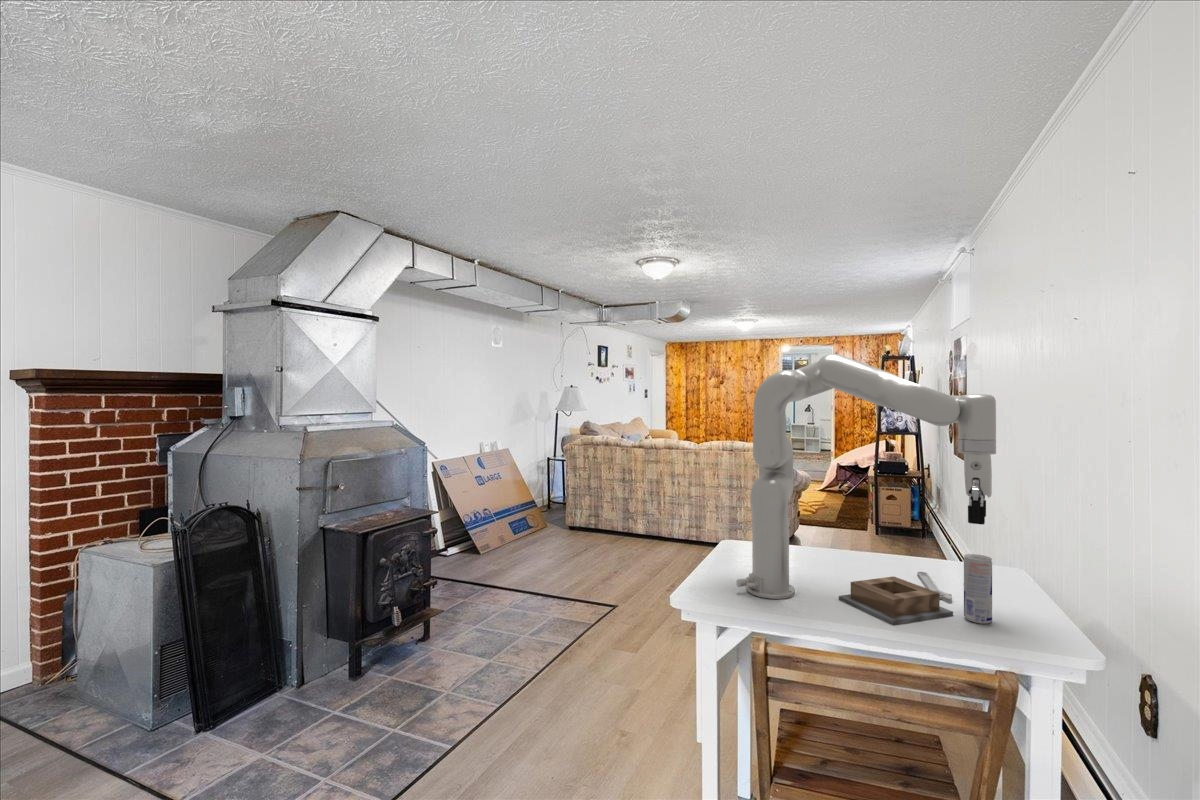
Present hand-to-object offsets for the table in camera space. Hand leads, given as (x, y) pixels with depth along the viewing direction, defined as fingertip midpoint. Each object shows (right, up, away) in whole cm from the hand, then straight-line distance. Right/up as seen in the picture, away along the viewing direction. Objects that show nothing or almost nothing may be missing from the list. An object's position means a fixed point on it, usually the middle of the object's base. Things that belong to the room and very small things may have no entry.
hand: (977, 519), depth 139 cm
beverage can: (0, -24, 0) cm, 24 cm away
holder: (-15, -24, +8) cm, 29 cm away
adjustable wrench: (+2, -24, +22) cm, 33 cm away
